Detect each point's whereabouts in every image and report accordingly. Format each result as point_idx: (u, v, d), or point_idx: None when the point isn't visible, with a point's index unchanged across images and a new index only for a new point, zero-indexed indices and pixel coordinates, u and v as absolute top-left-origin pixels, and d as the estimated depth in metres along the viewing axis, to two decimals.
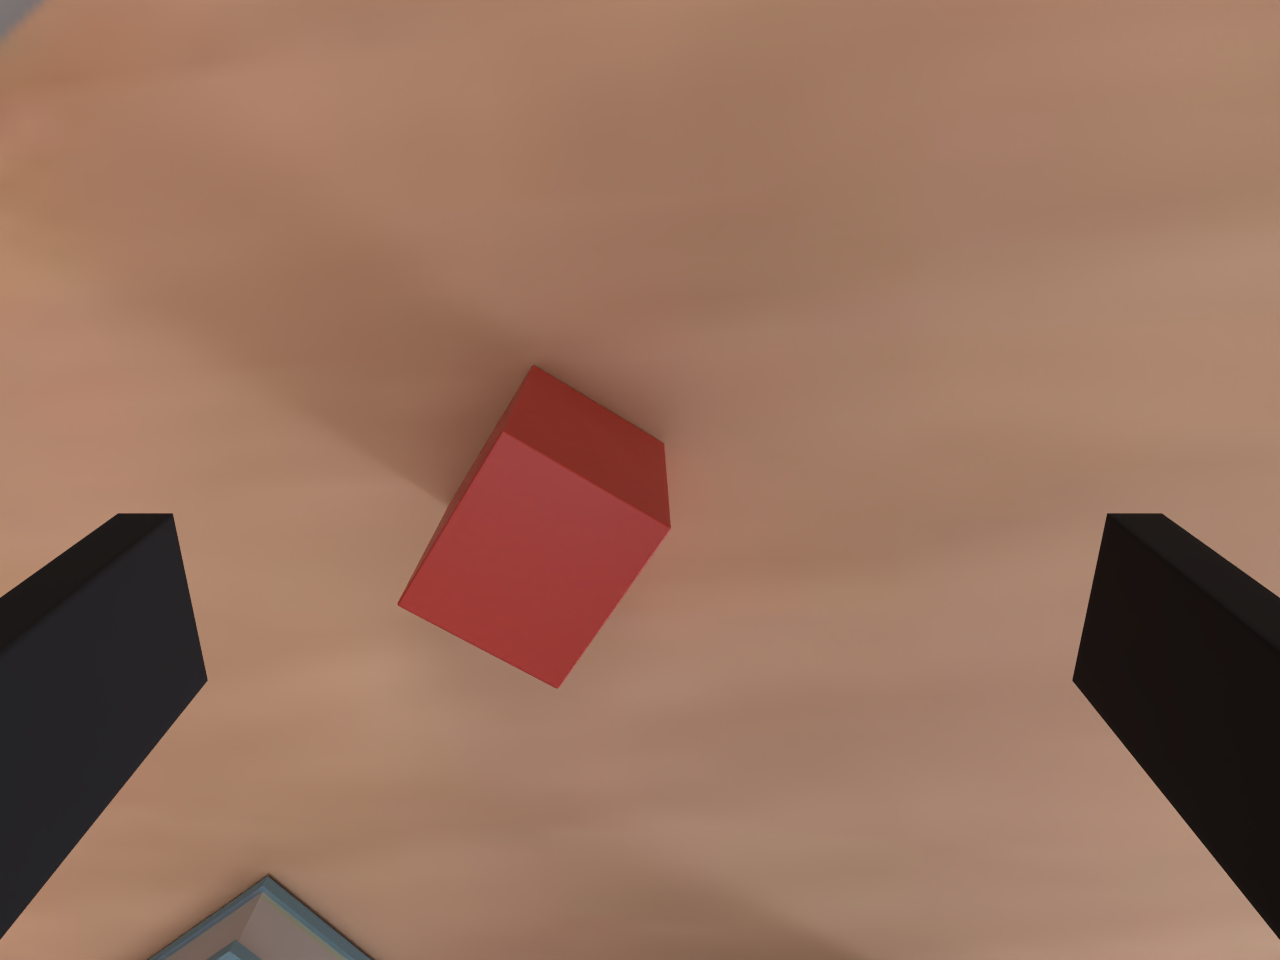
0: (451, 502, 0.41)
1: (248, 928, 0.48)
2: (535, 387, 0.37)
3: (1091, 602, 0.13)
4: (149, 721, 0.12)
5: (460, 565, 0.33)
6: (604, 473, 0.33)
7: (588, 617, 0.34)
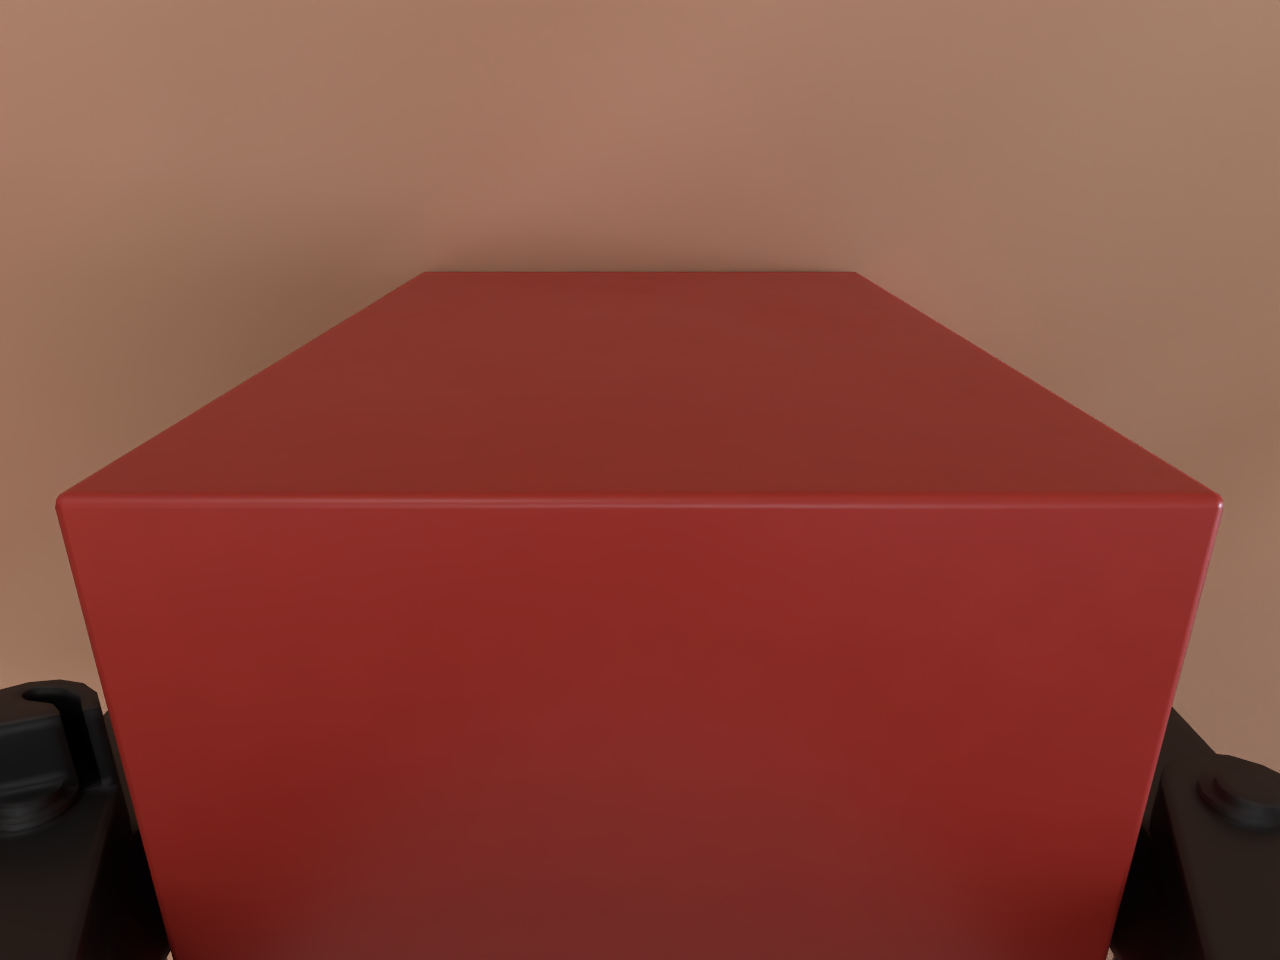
0: None
1: None
2: (405, 303, 0.11)
3: None
4: None
5: None
6: (716, 421, 0.07)
7: None
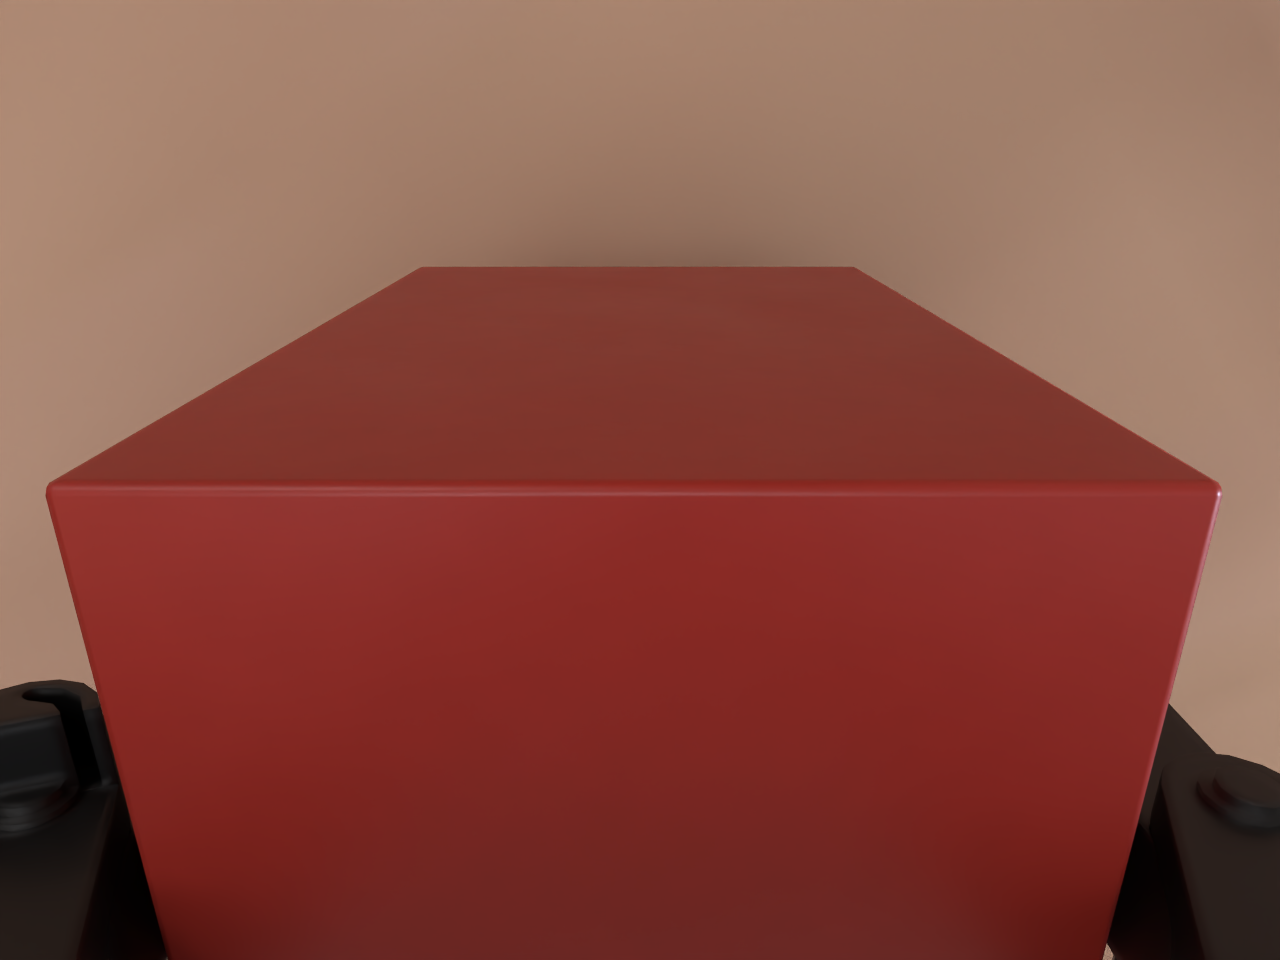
0: None
1: None
2: (401, 297, 0.11)
3: None
4: None
5: None
6: (711, 410, 0.07)
7: None
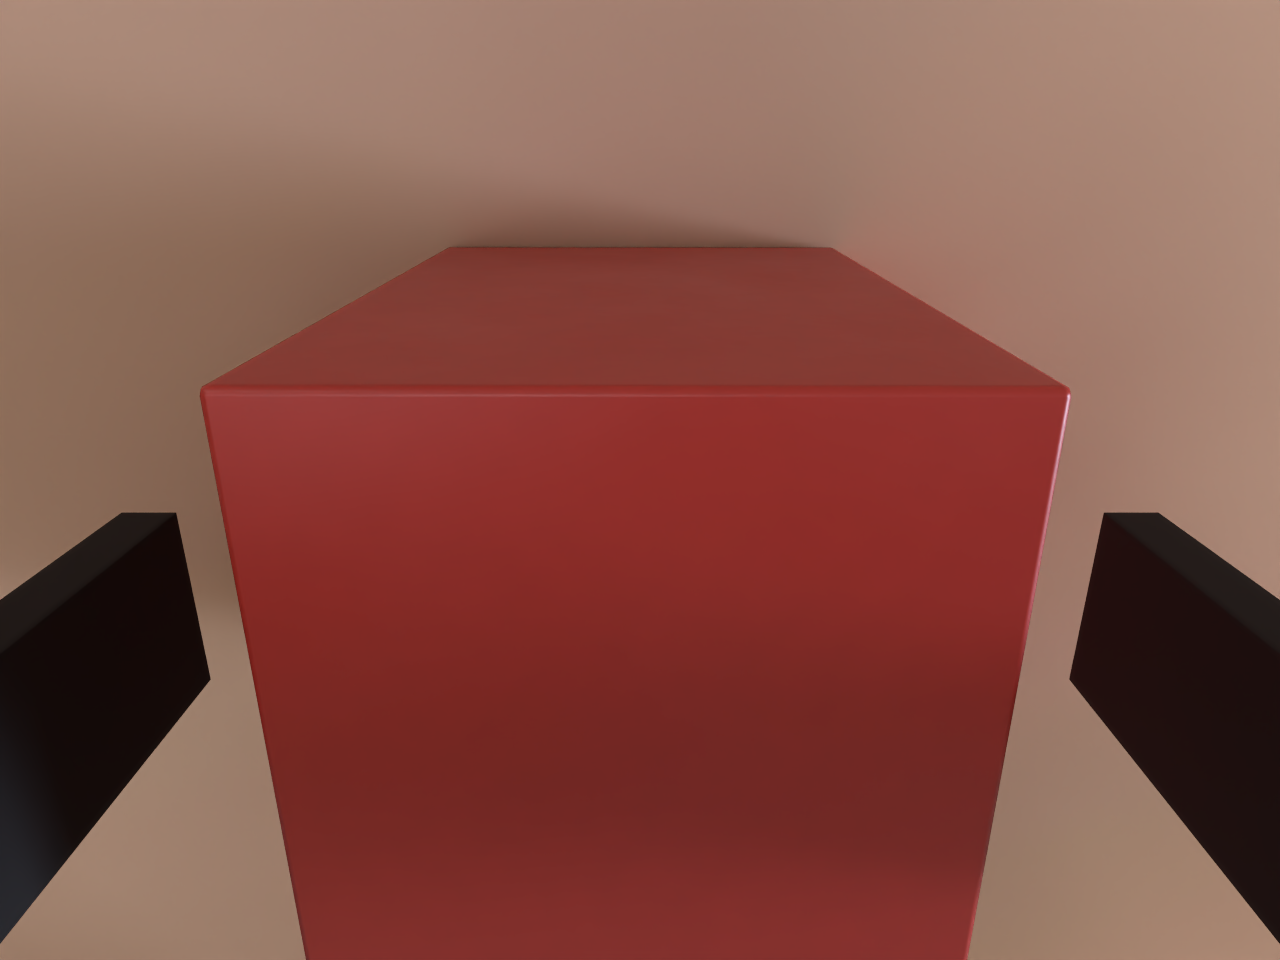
0: None
1: None
2: (435, 270, 0.13)
3: (1088, 600, 0.13)
4: (154, 720, 0.12)
5: (413, 902, 0.09)
6: (697, 346, 0.08)
7: (925, 853, 0.09)
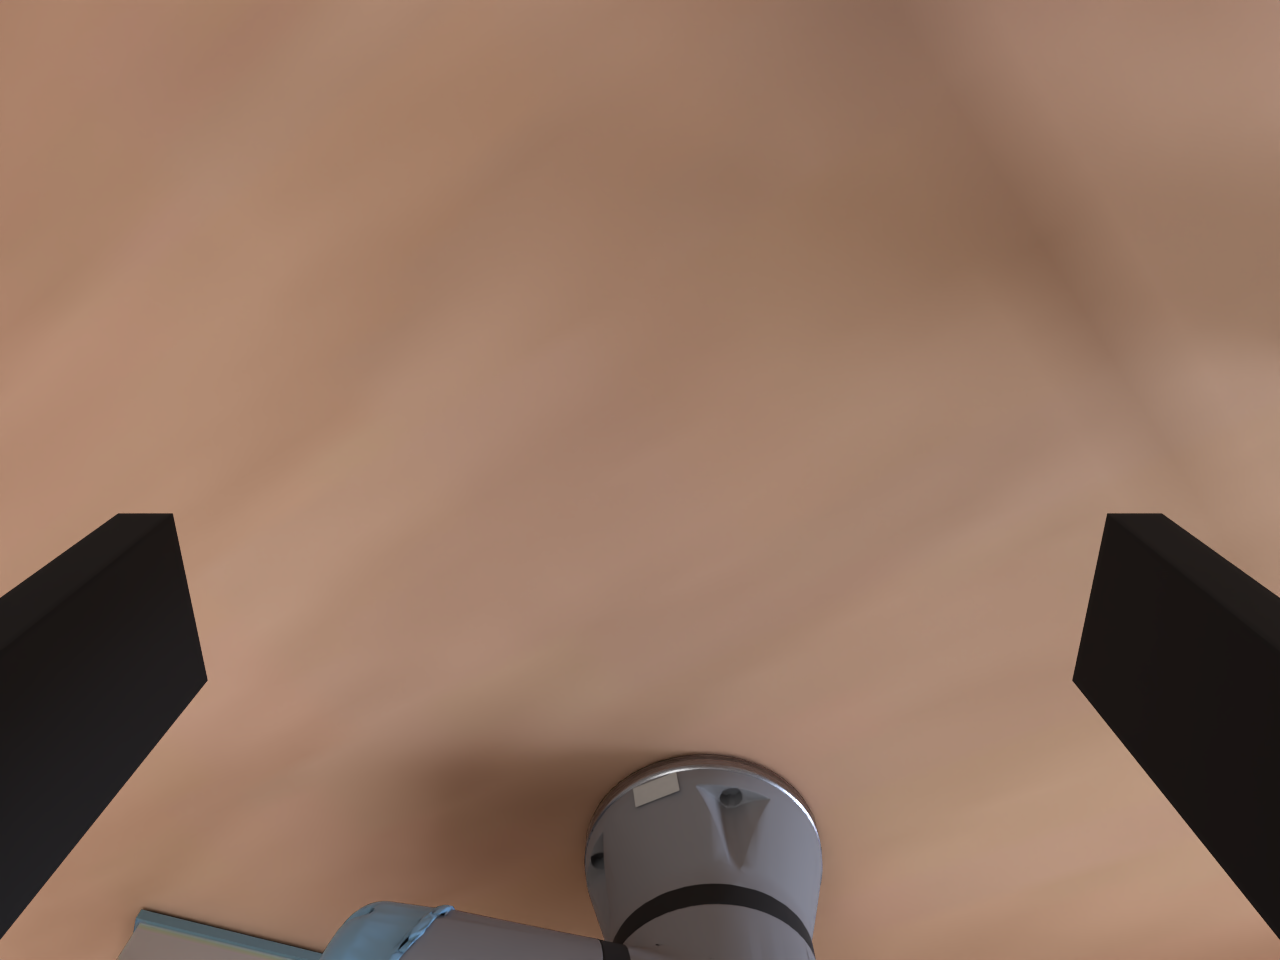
0: None
1: (123, 953, 0.57)
2: None
3: (1092, 602, 0.13)
4: (149, 721, 0.12)
5: None
6: None
7: None
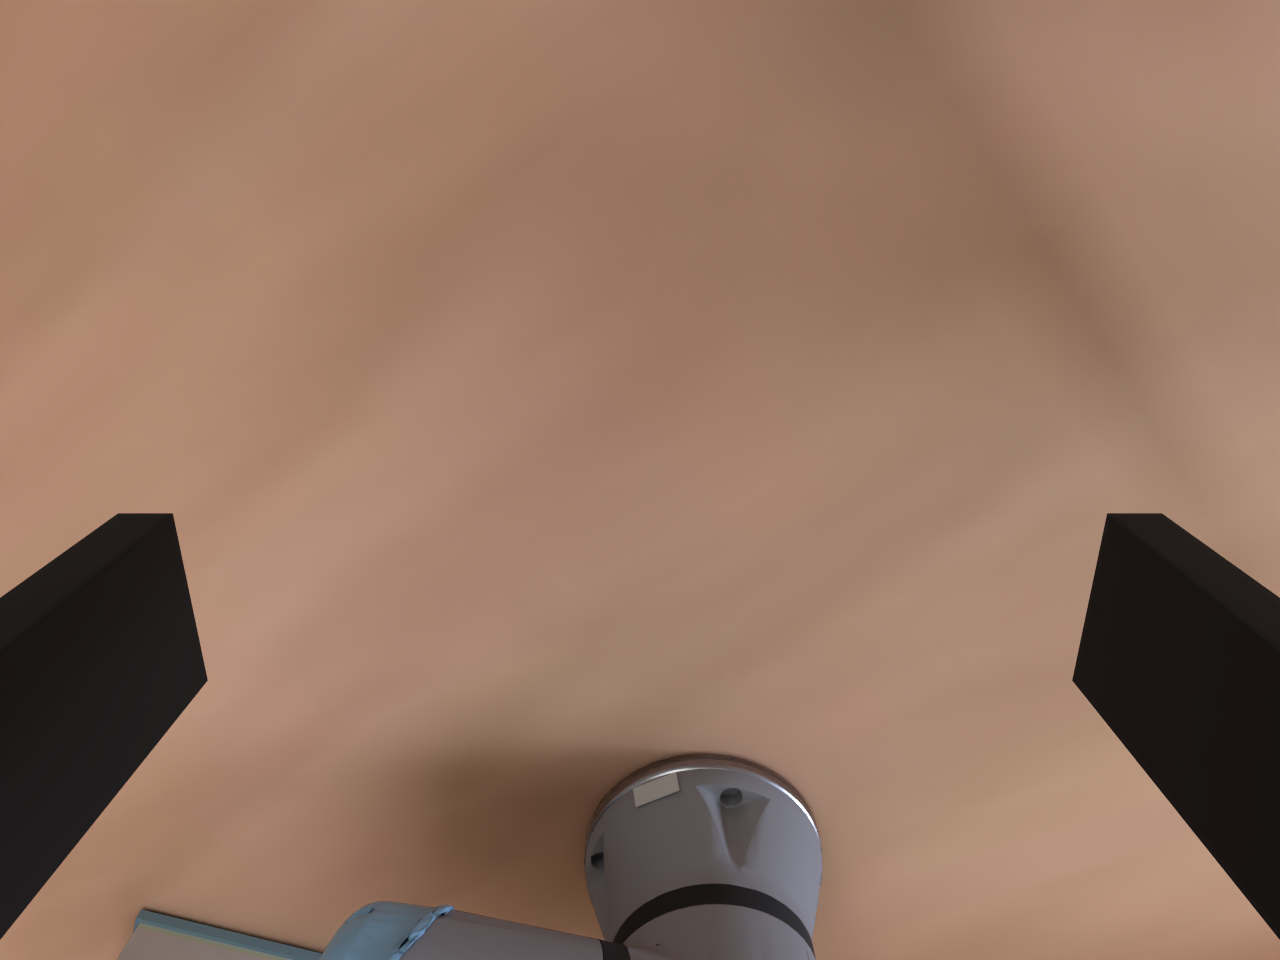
0: None
1: (123, 953, 0.57)
2: None
3: (1092, 602, 0.13)
4: (149, 721, 0.12)
5: None
6: None
7: None
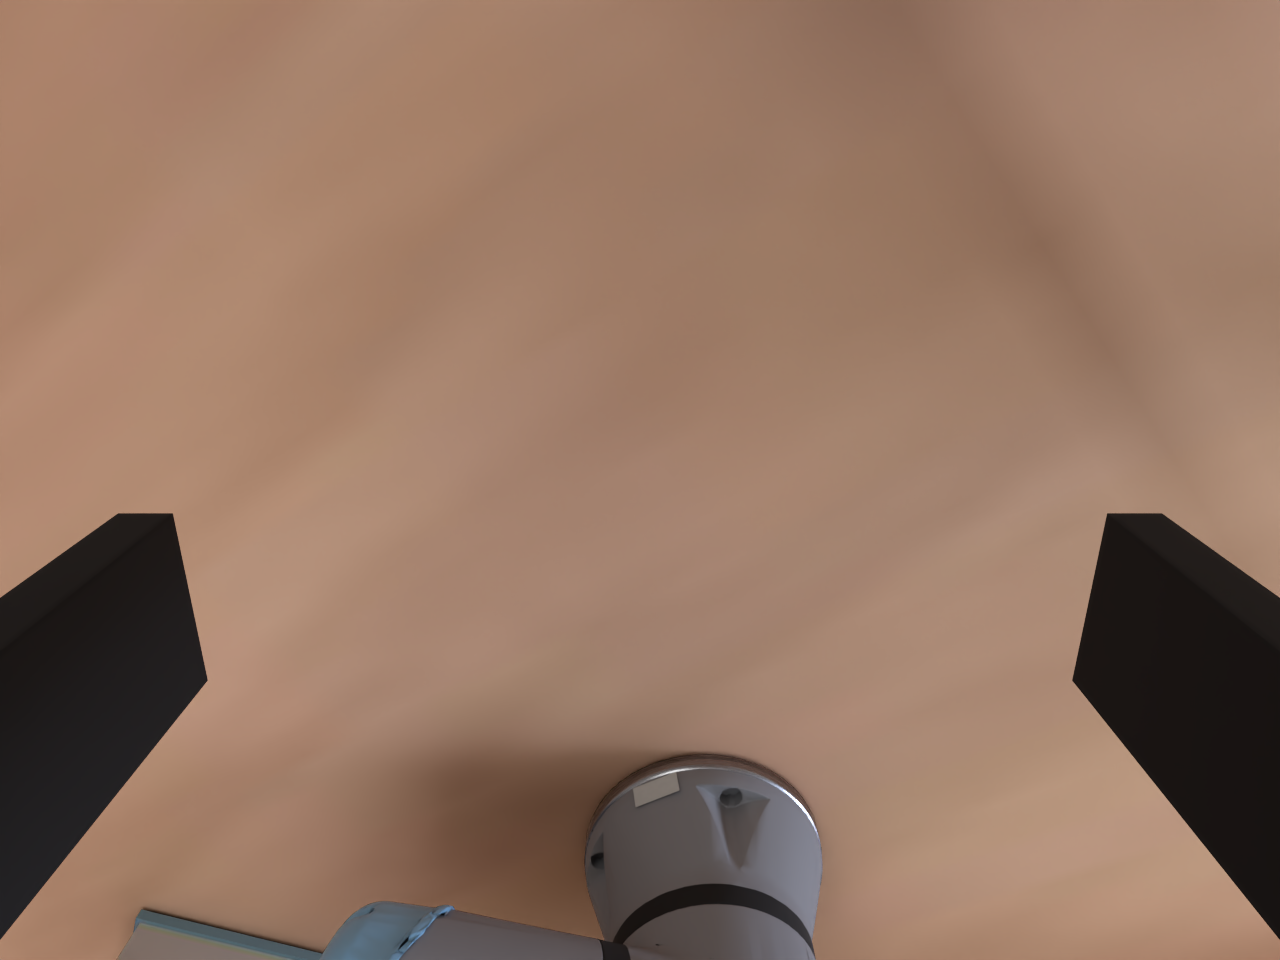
0: None
1: (123, 953, 0.57)
2: None
3: (1092, 602, 0.13)
4: (149, 721, 0.12)
5: None
6: None
7: None
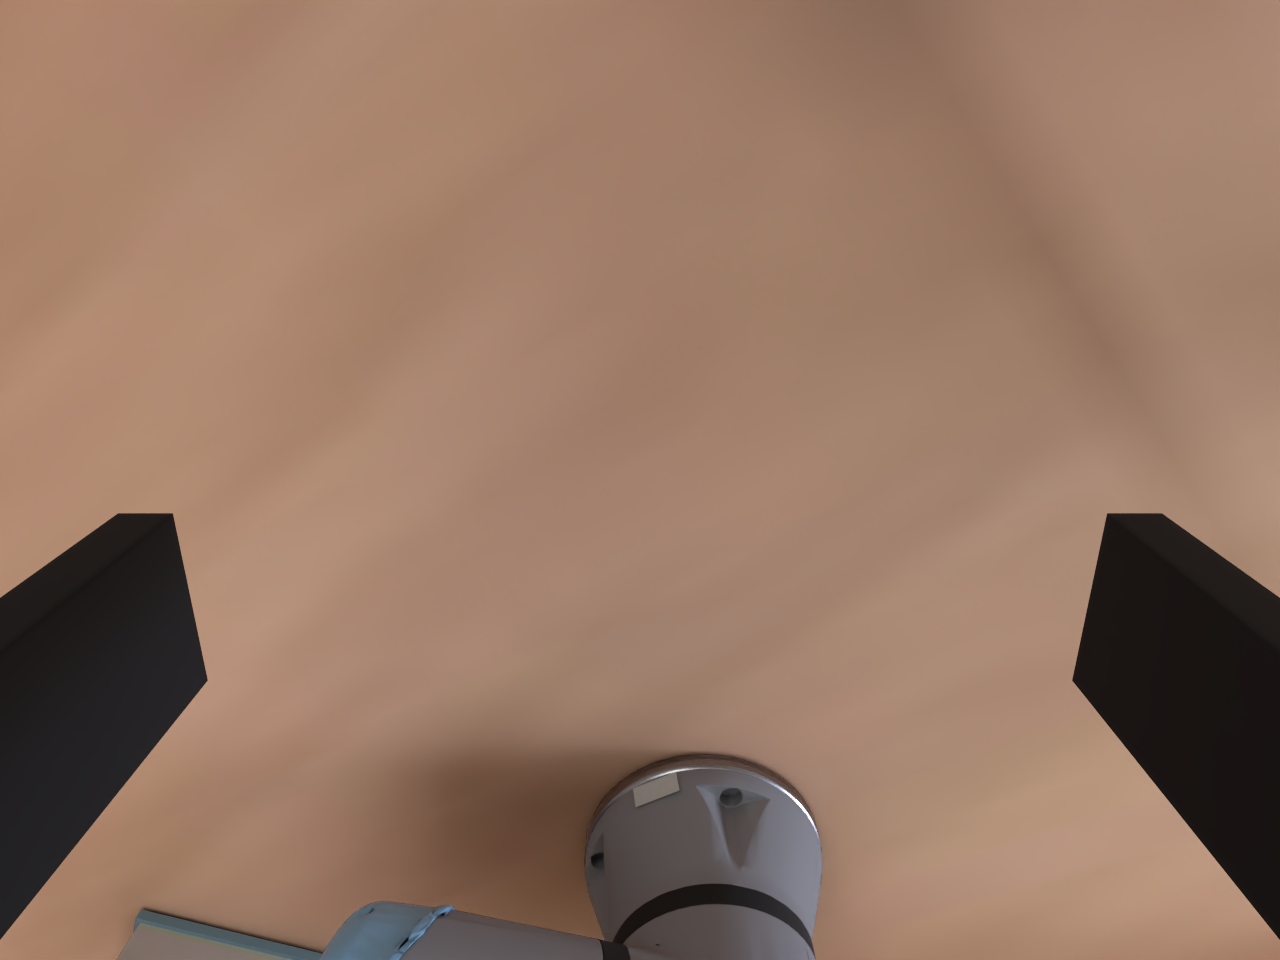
0: None
1: (123, 953, 0.57)
2: None
3: (1092, 602, 0.13)
4: (149, 721, 0.12)
5: None
6: None
7: None
